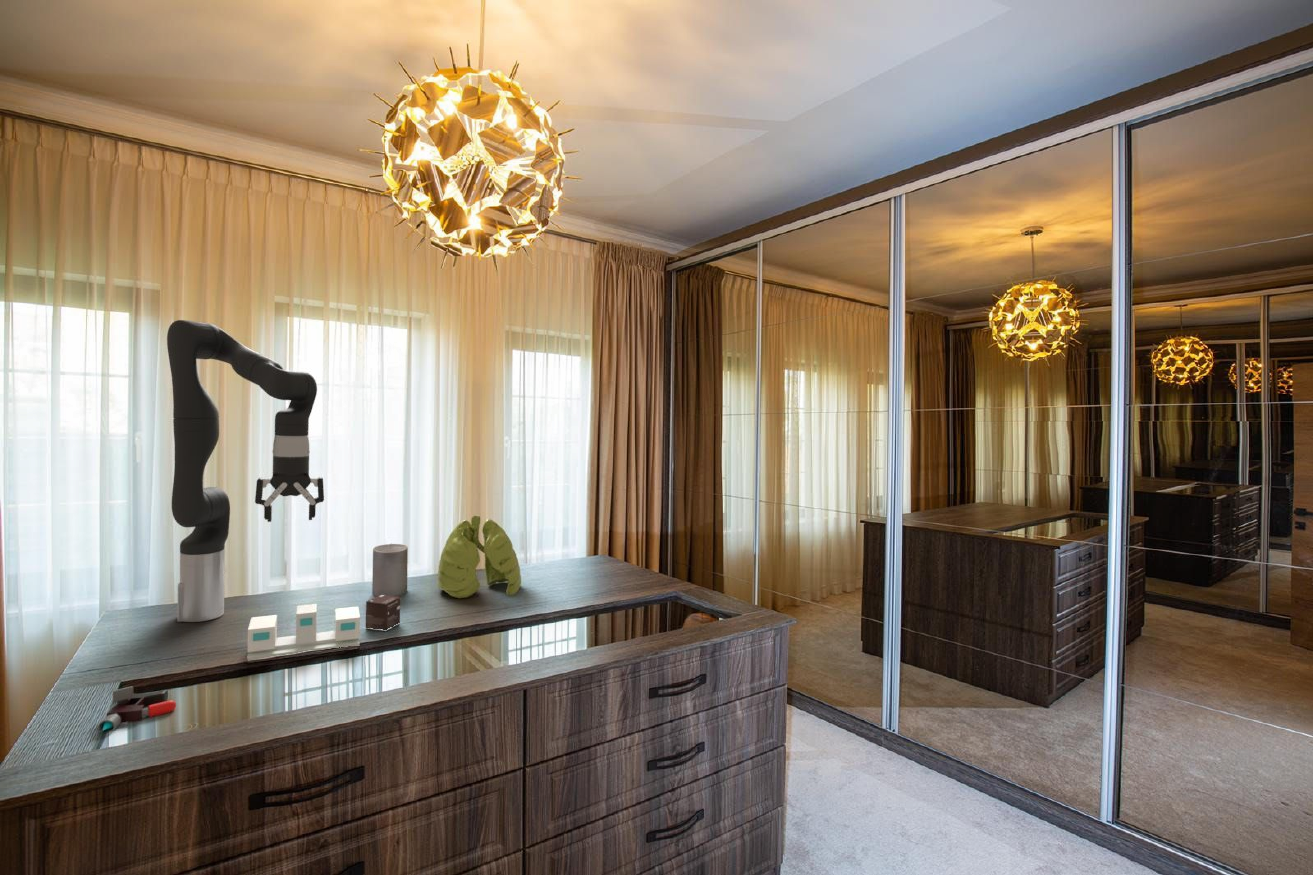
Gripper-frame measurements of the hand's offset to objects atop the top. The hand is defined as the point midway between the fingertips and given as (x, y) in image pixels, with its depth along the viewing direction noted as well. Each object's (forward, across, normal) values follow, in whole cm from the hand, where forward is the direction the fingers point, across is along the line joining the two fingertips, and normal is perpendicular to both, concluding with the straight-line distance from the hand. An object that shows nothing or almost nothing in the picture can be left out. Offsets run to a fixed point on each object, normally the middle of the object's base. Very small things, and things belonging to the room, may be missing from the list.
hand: (290, 520), depth 149 cm
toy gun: (+29, +21, +33) cm, 49 cm away
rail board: (+28, -4, +11) cm, 30 cm away
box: (+28, -21, +3) cm, 35 cm away
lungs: (+28, -50, -18) cm, 61 cm away
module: (+26, -4, +11) cm, 28 cm away
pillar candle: (+28, -25, -25) cm, 45 cm away
